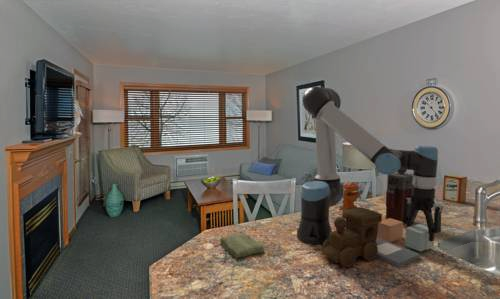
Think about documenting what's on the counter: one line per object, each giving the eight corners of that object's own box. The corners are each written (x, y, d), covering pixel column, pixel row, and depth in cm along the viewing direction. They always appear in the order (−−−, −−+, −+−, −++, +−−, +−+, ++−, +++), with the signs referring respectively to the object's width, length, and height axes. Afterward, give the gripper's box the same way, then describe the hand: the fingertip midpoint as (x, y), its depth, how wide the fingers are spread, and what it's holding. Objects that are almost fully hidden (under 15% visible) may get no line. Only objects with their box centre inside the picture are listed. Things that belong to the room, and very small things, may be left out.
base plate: (398, 267, 97) (398, 263, 97) (355, 247, 113) (355, 243, 113) (419, 258, 104) (420, 253, 104) (376, 240, 119) (376, 236, 119)
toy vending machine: (382, 219, 144) (384, 164, 142) (396, 215, 150) (398, 163, 147) (399, 225, 137) (401, 167, 134) (413, 221, 142) (415, 165, 139)
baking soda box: (442, 199, 179) (444, 174, 178) (448, 198, 182) (450, 173, 181) (459, 203, 171) (461, 177, 170) (465, 202, 174) (467, 176, 173)
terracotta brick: (389, 242, 117) (390, 226, 117) (376, 237, 123) (377, 221, 122) (402, 238, 122) (403, 222, 121) (389, 233, 127) (390, 218, 126)
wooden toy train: (358, 246, 114) (359, 205, 112) (382, 259, 104) (384, 214, 102) (318, 257, 105) (319, 213, 104) (340, 271, 95) (341, 223, 93)
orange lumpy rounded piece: (356, 219, 145) (357, 184, 144) (335, 215, 152) (336, 181, 150) (363, 213, 154) (364, 180, 152) (342, 209, 161) (343, 178, 159)
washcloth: (246, 237, 125) (246, 230, 125) (266, 253, 109) (266, 245, 109) (217, 243, 119) (217, 235, 119) (234, 261, 103) (234, 252, 103)
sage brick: (420, 251, 106) (421, 233, 106) (404, 245, 112) (406, 228, 111) (433, 246, 111) (434, 228, 110) (417, 240, 116) (419, 223, 115)
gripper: (456, 191, 102) (451, 252, 105) (405, 180, 119) (401, 234, 121) (445, 193, 99) (440, 257, 101) (394, 182, 115) (390, 238, 117)
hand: (419, 244), depth 111 cm, fingers closed on sage brick, 6 cm apart
